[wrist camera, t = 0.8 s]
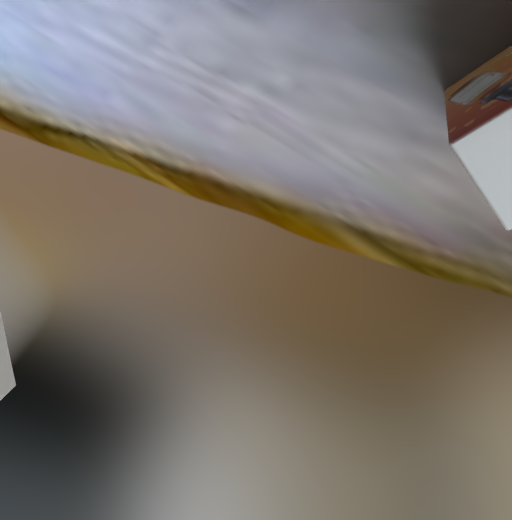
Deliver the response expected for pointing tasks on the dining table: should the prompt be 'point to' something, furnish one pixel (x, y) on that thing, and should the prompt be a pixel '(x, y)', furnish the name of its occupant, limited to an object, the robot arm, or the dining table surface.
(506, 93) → the small box
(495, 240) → the dining table surface
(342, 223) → the dining table surface
